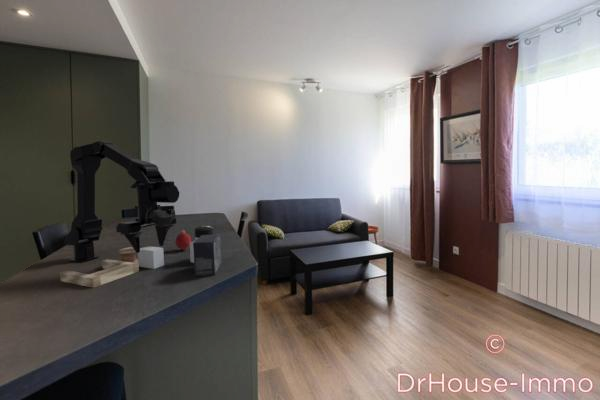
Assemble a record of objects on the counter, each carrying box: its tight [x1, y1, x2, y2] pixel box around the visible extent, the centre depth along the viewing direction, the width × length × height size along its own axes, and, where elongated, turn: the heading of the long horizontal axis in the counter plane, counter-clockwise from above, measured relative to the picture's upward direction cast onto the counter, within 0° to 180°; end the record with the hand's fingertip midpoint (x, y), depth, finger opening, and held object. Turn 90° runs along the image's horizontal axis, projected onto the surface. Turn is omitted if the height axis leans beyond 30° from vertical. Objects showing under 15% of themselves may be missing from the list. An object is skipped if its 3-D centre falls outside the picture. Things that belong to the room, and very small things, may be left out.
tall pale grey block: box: [137, 245, 165, 270], centre depth 97 cm, size 7×4×6 cm, turn 68°
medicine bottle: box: [189, 225, 214, 264], centre depth 102 cm, size 7×7×12 cm
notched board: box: [59, 258, 140, 288], centre depth 88 cm, size 14×14×2 cm
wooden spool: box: [118, 246, 138, 263], centre depth 99 cm, size 6×6×5 cm
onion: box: [175, 230, 192, 251], centre depth 116 cm, size 6×6×8 cm
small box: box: [192, 233, 223, 277], centre depth 92 cm, size 11×6×10 cm, turn 5°
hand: (150, 249), depth 97 cm, fingers open, 9 cm apart
